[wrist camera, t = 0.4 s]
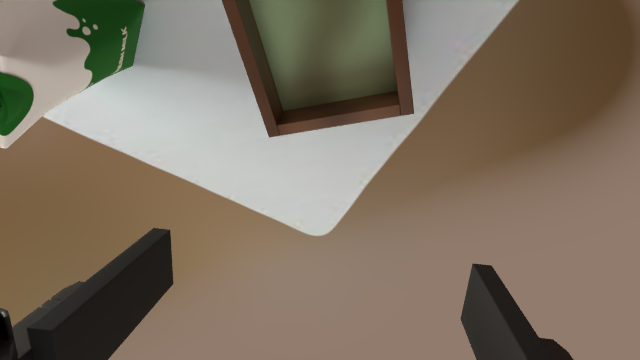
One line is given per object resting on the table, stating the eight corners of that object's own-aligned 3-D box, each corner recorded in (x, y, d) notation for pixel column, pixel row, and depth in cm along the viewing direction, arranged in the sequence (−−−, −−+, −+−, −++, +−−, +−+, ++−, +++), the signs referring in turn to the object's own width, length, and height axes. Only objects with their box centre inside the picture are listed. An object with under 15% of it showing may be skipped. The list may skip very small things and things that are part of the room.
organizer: (291, 90, 40) (269, 137, 31) (249, -59, 33) (203, -53, 24) (403, 68, 38) (414, 113, 29) (385, -99, 30) (390, -109, 21)
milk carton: (139, 76, 42) (-12, 175, 25) (58, 36, 40) (-160, 113, 24) (156, 0, 37) (-17, 61, 20) (64, -49, 35) (-204, -26, 19)
